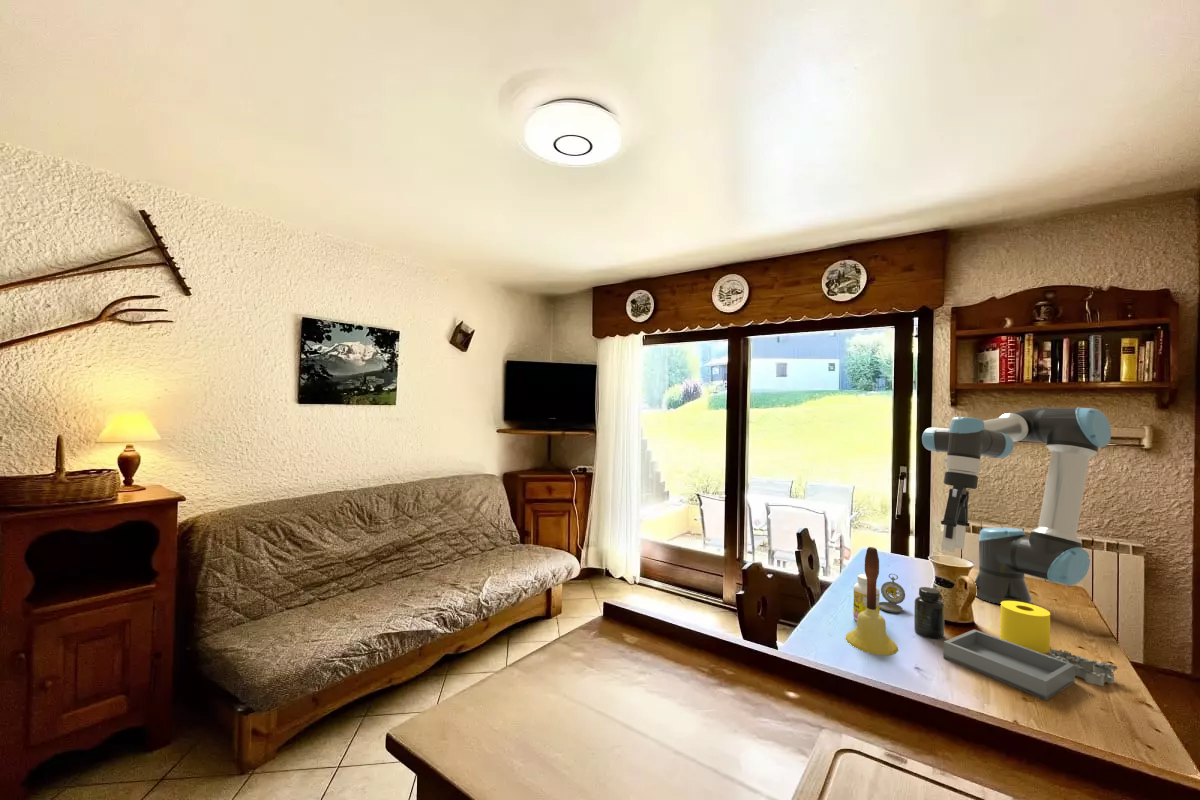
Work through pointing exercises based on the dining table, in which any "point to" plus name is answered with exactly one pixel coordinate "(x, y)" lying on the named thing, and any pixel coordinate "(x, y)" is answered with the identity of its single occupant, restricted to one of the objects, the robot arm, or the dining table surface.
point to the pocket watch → (892, 602)
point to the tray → (1010, 663)
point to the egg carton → (1088, 667)
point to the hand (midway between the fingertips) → (952, 549)
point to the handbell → (871, 616)
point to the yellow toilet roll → (1025, 625)
